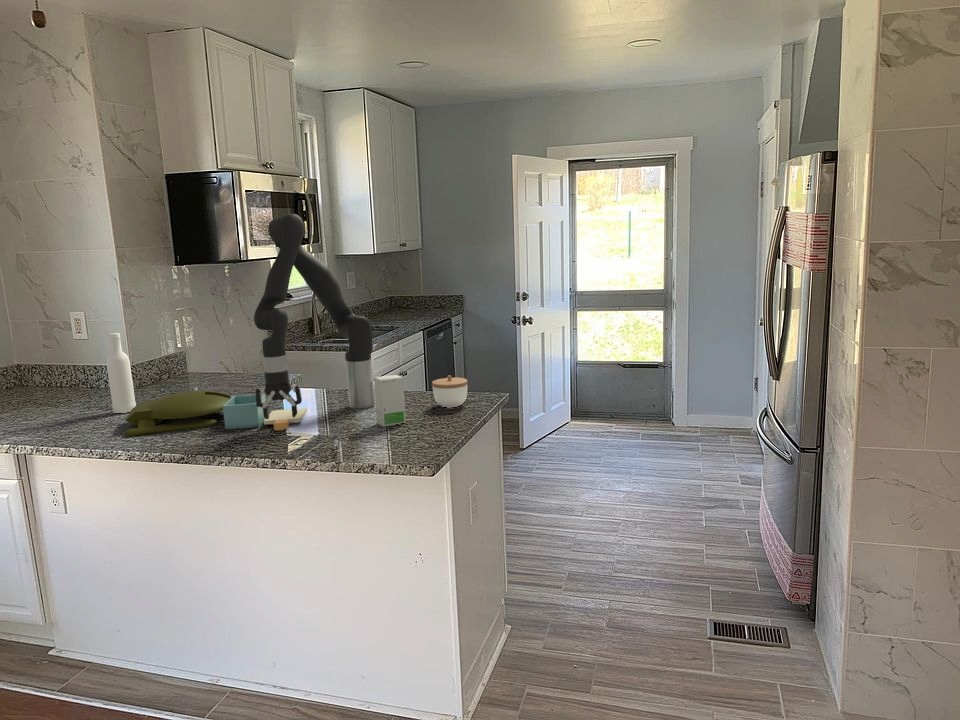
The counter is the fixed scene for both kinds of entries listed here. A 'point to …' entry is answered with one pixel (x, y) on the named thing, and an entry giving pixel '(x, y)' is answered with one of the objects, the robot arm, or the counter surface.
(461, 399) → the lidded bowl
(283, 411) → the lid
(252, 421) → the tub
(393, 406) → the skincare box
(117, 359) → the bottle
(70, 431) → the counter surface
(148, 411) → the spaceship
